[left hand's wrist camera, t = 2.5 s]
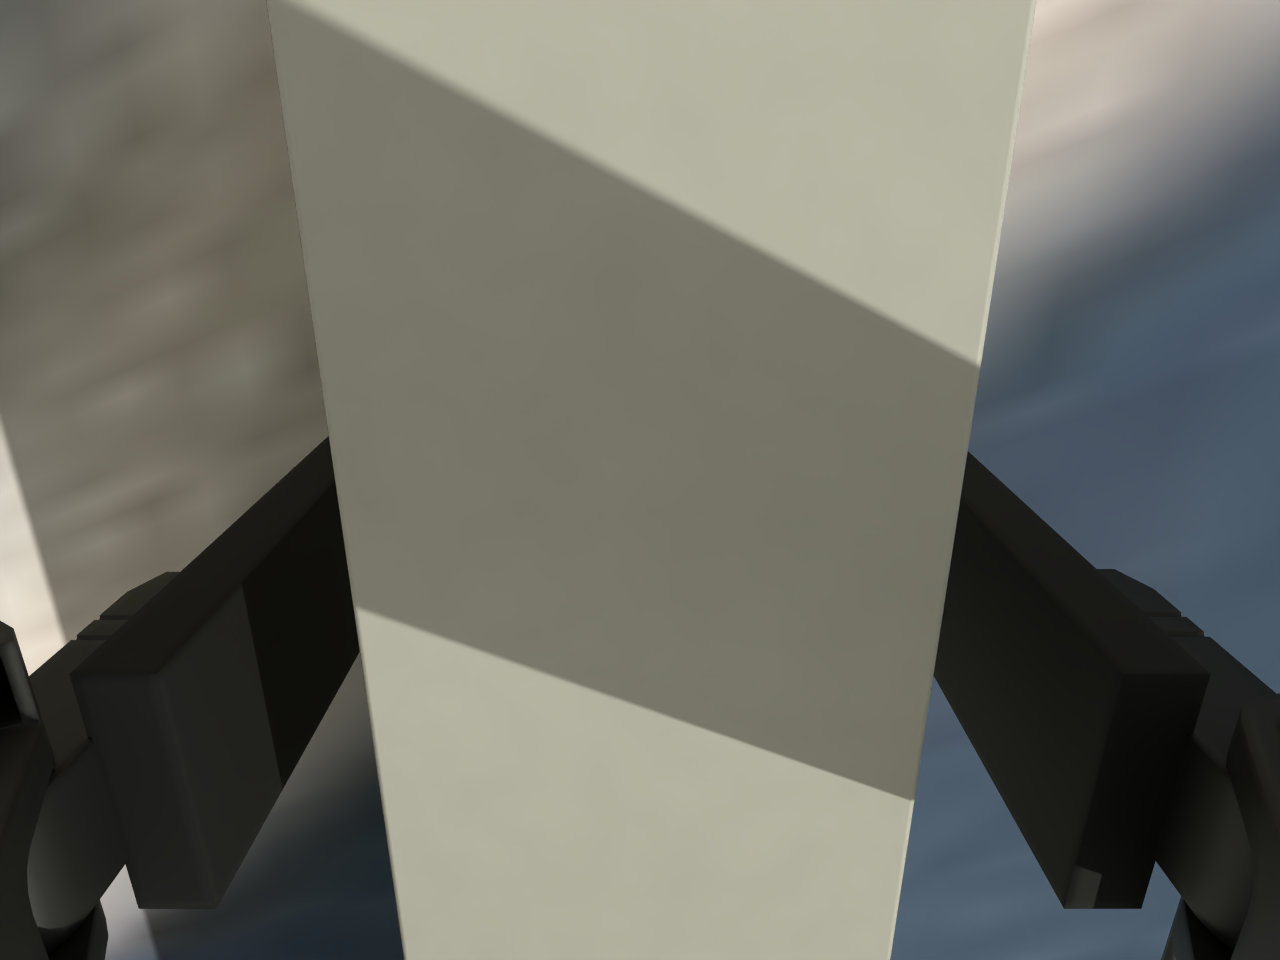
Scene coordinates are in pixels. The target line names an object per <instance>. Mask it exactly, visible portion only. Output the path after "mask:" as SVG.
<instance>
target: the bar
mask: <svg viewBox="0 0 1280 960" xmlns="http://www.w3.org/2000/svg"><path fill="white" fill-rule="evenodd" d="M266 2H267V9H268V16H269V23H270V30H271V37H272V44H273V51H274V58H275V65H276V72H277V79H278V86H279V93H280V100H281V107H282V114H283V121H284V127H285V134H286V141H287V148H288V155H289V162H290V169H291V176H292V183H293V190H294V197H295V204H296V211H297V218H298V225H299V232H300V239H301V246H302V253H303V259H304V266H305V273H306V280H307V287H308V294H309V301H310V308H311V315H312V322H313V329H314V336H315V343H316V350H317V357H318V364H319V371H320V378H321V385H322V391H323V398H324V405H325V412H326V419H327V426H328V433H329V440H330V447H331V454H332V461H333V468H334V475H335V482H336V489H337V496H338V503H339V510H340V517H341V523H342V530H343V537H344V544H345V551H346V558H347V565H348V572H349V579H350V586H351V593H352V600H353V607H354V614H355V621H356V628H357V635H358V642H359V649H360V655H361V662H362V669H363V676H364V683H365V690H366V697H367V704H368V711H369V718H370V725H371V732H372V739H373V746H374V753H375V760H376V767H377V774H378V780H379V787H380V794H381V801H382V808H383V815H384V822H385V829H386V836H387V843H388V850H389V857H390V864H391V871H392V878H393V885H394V892H395V899H396V906H397V913H398V919H399V926H400V933H401V940H402V947H403V954H404V960H890V956H891V950H892V943H893V937H894V930H895V923H896V917H897V910H898V904H899V897H900V891H901V884H902V878H903V871H904V864H905V858H906V851H907V845H908V838H909V832H910V825H911V819H912V812H913V805H914V799H915V792H916V786H917V779H918V773H919V766H920V760H921V753H922V746H923V740H924V733H925V727H926V720H927V714H928V707H929V701H930V694H931V688H932V681H933V674H934V668H935V661H936V655H937V648H938V642H939V635H940V629H941V622H942V615H943V609H944V602H945V596H946V589H947V583H948V576H949V570H950V563H951V556H952V550H953V543H954V537H955V530H956V524H957V517H958V511H959V504H960V497H961V491H962V484H963V478H964V471H965V465H966V458H967V452H968V445H969V438H970V432H971V425H972V419H973V412H974V406H975V399H976V393H977V386H978V380H979V373H980V366H981V360H982V353H983V347H984V340H985V334H986V327H987V321H988V314H989V307H990V301H991V294H992V288H993V281H994V275H995V268H996V262H997V255H998V248H999V242H1000V235H1001V229H1002V222H1003V216H1004V209H1005V203H1006V196H1007V189H1008V183H1009V176H1010V170H1011V163H1012V157H1013V150H1014V144H1015V137H1016V131H1017V124H1018V117H1019V111H1020V104H1021V98H1022V91H1023V85H1024V78H1025V72H1026V65H1027V58H1028V52H1029V45H1030V39H1031V32H1032V26H1033V19H1034V13H1035V6H1036V0H266Z"/></svg>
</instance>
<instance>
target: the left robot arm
mask: <svg viewBox="0 0 1280 960" xmlns="http://www.w3.org/2000/svg"><path fill="white" fill-rule="evenodd" d="M359 652H360V649H359V642H358V635H357V628H356V621H355V614H354V607H353V600H352V593H351V586H350V579H349V572H348V565H347V558H346V551H345V544H344V537H343V530H342V523H341V517H340V510H339V503H338V496H337V489H336V482H335V475H334V468H333V461H332V454H331V447H330V440H329V436H328V437H327V438H326V439H325V440H324V441H323V442H322V443H321V444H320V445H318V446H317V447H316V448H315V449H314V450H313V451H312V452H311V453H310V454H309V455H308V456H306V457H305V458H304V459H303V460H302V461H301V462H300V463H299V464H298V465H297V466H296V467H294V468H293V469H292V470H291V471H290V472H289V473H288V474H287V475H286V476H285V477H284V478H282V479H281V480H280V481H279V482H278V483H277V484H276V485H275V486H274V487H273V488H272V489H270V490H269V491H268V492H267V493H266V494H265V495H264V496H263V497H262V498H261V499H260V500H258V501H257V502H256V503H255V504H254V505H253V506H252V507H251V508H250V509H249V510H248V511H246V512H245V513H244V514H243V515H242V516H241V517H240V518H239V519H238V520H237V521H236V522H234V523H233V524H232V525H231V526H230V527H229V528H228V529H227V530H226V531H225V532H224V533H222V534H221V535H220V536H219V537H218V538H217V539H216V540H215V541H214V542H213V543H212V544H211V545H209V546H208V547H207V548H206V549H205V550H204V551H203V552H202V553H201V554H200V555H199V556H197V557H196V558H195V559H194V560H193V561H192V562H191V563H190V564H189V565H188V566H187V567H185V568H184V569H183V570H182V571H181V572H166V573H164V574H162V575H160V576H158V577H156V578H154V579H152V580H150V581H148V582H146V583H144V584H142V585H140V586H138V587H136V588H134V589H132V590H130V591H128V592H127V593H125V594H124V595H123V596H122V597H121V598H120V599H118V600H117V601H116V602H115V603H114V604H113V605H111V606H110V607H109V608H108V609H107V610H106V611H104V612H103V613H102V614H101V615H100V620H94V621H93V622H92V623H91V624H89V625H88V626H87V627H86V628H85V629H84V630H82V631H81V632H80V633H79V634H78V635H77V640H71V641H70V642H68V643H67V644H66V645H65V646H64V647H63V648H61V649H60V650H59V651H58V652H57V653H56V654H54V655H53V656H52V657H51V658H50V659H49V660H48V661H46V662H45V663H44V664H43V665H42V666H41V667H39V668H38V669H37V670H36V671H35V672H34V673H32V674H31V675H30V676H28V673H27V669H26V666H25V663H24V660H23V657H22V654H21V651H20V647H19V644H18V641H17V638H16V635H15V632H14V629H13V628H12V627H10V626H8V625H7V624H5V623H3V622H1V621H0V960H105V954H106V948H107V941H108V931H107V924H106V918H105V915H104V911H103V908H102V905H101V902H100V898H101V897H102V895H103V894H104V893H105V891H106V890H107V888H108V887H109V886H110V884H111V883H112V882H113V880H114V879H115V877H116V876H117V875H118V873H119V872H120V870H121V869H122V868H123V866H124V865H125V864H126V867H127V871H128V874H129V877H130V881H131V884H132V887H133V891H134V894H135V898H136V901H137V904H138V908H139V909H216V907H217V906H218V904H219V902H220V900H221V899H222V897H223V895H224V893H225V891H226V890H227V888H228V886H229V884H230V882H231V881H232V879H233V877H234V875H235V874H236V872H237V870H238V868H239V866H240V865H241V863H242V861H243V859H244V857H245V856H246V854H247V852H248V850H249V849H250V847H251V845H252V843H253V841H254V840H255V838H256V836H257V834H258V832H259V831H260V829H261V827H262V825H263V823H264V822H265V820H266V818H267V816H268V815H269V813H270V811H271V809H272V807H273V806H274V804H275V802H276V800H277V798H278V797H279V795H280V793H281V791H282V790H283V788H284V786H285V784H286V782H287V781H288V779H289V777H290V775H291V773H292V772H293V770H294V768H295V766H296V765H297V763H298V761H299V759H300V757H301V756H302V754H303V752H304V750H305V748H306V747H307V745H308V743H309V741H310V739H311V738H312V736H313V734H314V732H315V731H316V729H317V727H318V725H319V723H320V722H321V720H322V718H323V716H324V714H325V713H326V711H327V709H328V707H329V706H330V704H331V702H332V700H333V698H334V697H335V695H336V693H337V691H338V689H339V688H340V686H341V684H342V682H343V681H344V679H345V677H346V675H347V673H348V672H349V670H350V668H351V666H352V664H353V663H354V661H355V659H356V657H357V656H358V654H359ZM933 675H934V677H935V679H936V680H937V682H938V684H939V686H940V688H941V689H942V691H943V693H944V695H945V697H946V698H947V700H948V702H949V704H950V706H951V707H952V709H953V711H954V713H955V714H956V716H957V718H958V720H959V722H960V723H961V725H962V727H963V729H964V731H965V732H966V734H967V736H968V738H969V739H970V741H971V743H972V745H973V747H974V748H975V750H976V752H977V754H978V756H979V757H980V759H981V761H982V763H983V764H984V766H985V768H986V770H987V772H988V773H989V775H990V777H991V779H992V781H993V782H994V784H995V786H996V788H997V790H998V791H999V793H1000V795H1001V797H1002V798H1003V800H1004V802H1005V804H1006V806H1007V807H1008V809H1009V811H1010V813H1011V815H1012V816H1013V818H1014V820H1015V822H1016V823H1017V825H1018V827H1019V829H1020V831H1021V832H1022V834H1023V836H1024V838H1025V840H1026V841H1027V843H1028V845H1029V847H1030V848H1031V850H1032V852H1033V854H1034V856H1035V857H1036V859H1037V861H1038V863H1039V865H1040V866H1041V868H1042V870H1043V872H1044V874H1045V875H1046V877H1047V879H1048V881H1049V882H1050V884H1051V886H1052V888H1053V890H1054V891H1055V893H1056V895H1057V897H1058V899H1059V900H1060V902H1061V904H1062V906H1063V907H1064V909H1141V908H1142V904H1143V901H1144V898H1145V894H1146V891H1147V887H1148V884H1149V881H1150V877H1151V874H1152V871H1153V867H1154V864H1155V861H1156V862H1157V863H1158V864H1159V866H1160V867H1161V869H1162V870H1163V871H1164V873H1165V874H1166V875H1167V877H1168V878H1169V880H1170V881H1171V882H1172V884H1173V885H1174V886H1175V888H1176V889H1177V891H1178V892H1179V893H1180V895H1181V899H1180V902H1179V905H1178V908H1177V911H1176V915H1175V918H1174V921H1173V924H1172V927H1171V930H1170V933H1169V937H1168V940H1167V943H1166V946H1165V949H1164V952H1163V955H1162V959H1161V960H1280V694H1276V693H1275V692H1274V691H1273V690H1271V689H1270V688H1269V687H1268V686H1267V685H1266V684H1264V683H1263V682H1262V681H1261V680H1260V679H1259V678H1257V677H1256V676H1255V675H1254V674H1253V673H1251V672H1250V671H1249V670H1248V669H1247V668H1246V667H1244V666H1243V665H1242V664H1241V663H1240V662H1239V661H1237V660H1236V659H1235V658H1234V657H1233V656H1232V655H1230V654H1229V653H1228V652H1227V651H1226V650H1225V649H1223V648H1222V647H1221V646H1220V645H1219V644H1218V643H1216V642H1215V641H1214V640H1213V639H1212V638H1210V637H1204V632H1203V631H1202V630H1201V629H1200V628H1199V627H1198V626H1196V625H1195V624H1194V623H1193V622H1192V621H1191V620H1189V619H1188V618H1187V617H1181V612H1180V611H1179V610H1178V609H1177V608H1175V607H1174V606H1173V605H1172V604H1171V603H1169V602H1168V601H1167V600H1166V599H1165V598H1164V597H1162V596H1161V595H1160V594H1159V593H1158V592H1157V591H1155V590H1154V589H1153V588H1151V587H1149V586H1147V585H1145V584H1143V583H1141V582H1139V581H1137V580H1135V579H1133V578H1131V577H1129V576H1127V575H1125V574H1123V573H1121V572H1119V571H1117V570H1115V569H1096V568H1095V567H1093V566H1092V565H1091V564H1090V563H1089V562H1088V561H1087V560H1086V559H1085V558H1084V557H1083V556H1082V555H1080V554H1079V553H1078V552H1077V551H1076V550H1075V549H1074V548H1073V547H1072V546H1071V545H1070V544H1068V543H1067V542H1066V541H1065V540H1064V539H1063V538H1062V537H1061V536H1060V535H1059V534H1058V533H1056V532H1055V531H1054V530H1053V529H1052V528H1051V527H1050V526H1049V525H1048V524H1047V523H1046V522H1044V521H1043V520H1042V519H1041V518H1040V517H1039V516H1038V515H1037V514H1036V513H1035V512H1034V511H1032V510H1031V509H1030V508H1029V507H1028V506H1027V505H1026V504H1025V503H1024V502H1023V501H1022V500H1020V499H1019V498H1018V497H1017V496H1016V495H1015V494H1014V493H1013V492H1012V491H1011V490H1010V489H1008V488H1007V487H1006V486H1005V485H1004V484H1003V483H1002V482H1001V481H1000V480H999V479H998V478H996V477H995V476H994V475H993V474H992V473H991V472H990V471H989V470H988V469H987V468H986V467H984V466H983V465H982V464H981V463H980V462H979V461H978V460H977V459H976V458H975V457H974V456H972V455H971V454H970V453H969V452H967V458H966V465H965V471H964V478H963V484H962V491H961V497H960V504H959V511H958V517H957V524H956V530H955V537H954V543H953V550H952V556H951V563H950V570H949V576H948V583H947V589H946V596H945V602H944V609H943V615H942V622H941V629H940V635H939V642H938V648H937V655H936V661H935V668H934V674H933Z"/></svg>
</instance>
